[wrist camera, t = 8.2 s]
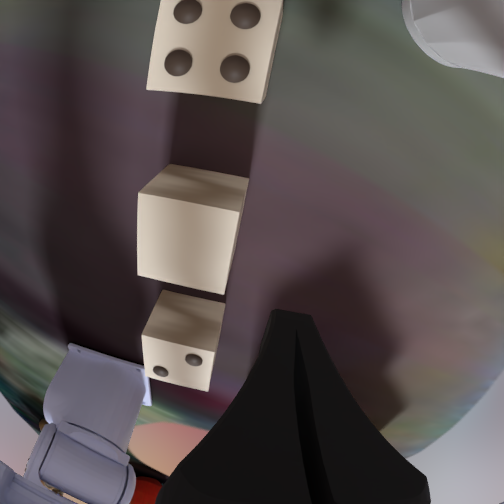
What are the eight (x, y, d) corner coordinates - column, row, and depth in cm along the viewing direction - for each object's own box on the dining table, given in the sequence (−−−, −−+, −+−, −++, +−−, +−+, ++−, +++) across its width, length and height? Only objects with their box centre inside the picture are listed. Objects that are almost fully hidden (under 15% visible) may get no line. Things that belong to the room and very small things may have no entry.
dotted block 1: (179, 84, 16) (145, 89, 12) (193, 5, 14) (163, -16, 9) (265, 96, 16) (260, 103, 12) (282, 16, 14) (283, -7, 9)
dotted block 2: (162, 332, 27) (145, 377, 22) (162, 289, 24) (141, 335, 20) (218, 344, 27) (207, 392, 22) (225, 302, 24) (214, 353, 20)
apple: (133, 467, 52) (120, 512, 42) (176, 483, 54) (167, 527, 44) (124, 474, 56) (112, 513, 47) (162, 488, 59) (153, 527, 49)
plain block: (164, 232, 21) (137, 275, 17) (169, 163, 19) (138, 192, 15) (235, 247, 22) (223, 294, 17) (249, 178, 19) (239, 212, 15)
